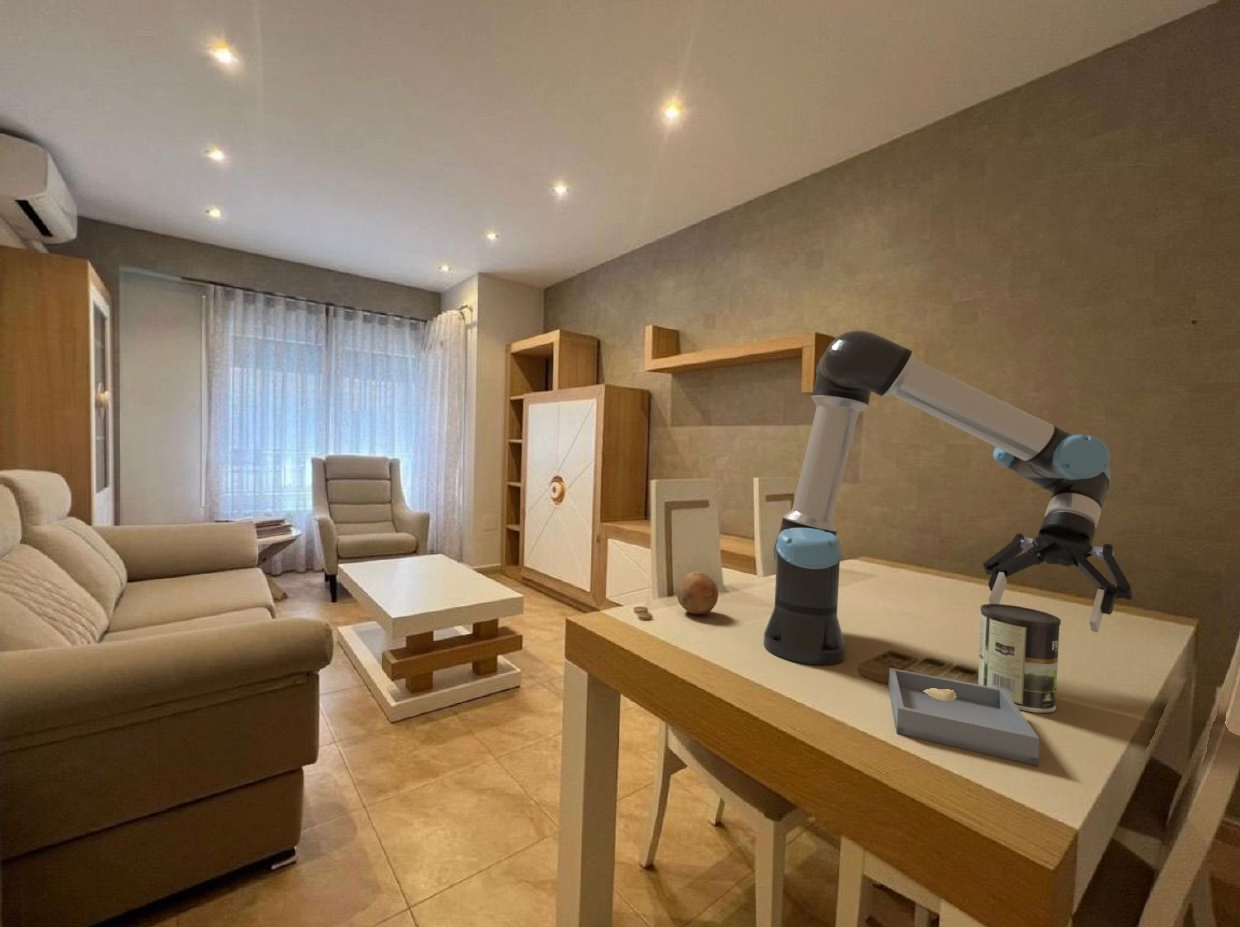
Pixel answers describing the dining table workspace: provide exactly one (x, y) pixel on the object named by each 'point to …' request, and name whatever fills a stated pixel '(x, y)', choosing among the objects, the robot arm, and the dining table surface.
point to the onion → (697, 593)
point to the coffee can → (1020, 655)
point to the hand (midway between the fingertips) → (1039, 615)
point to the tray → (962, 716)
